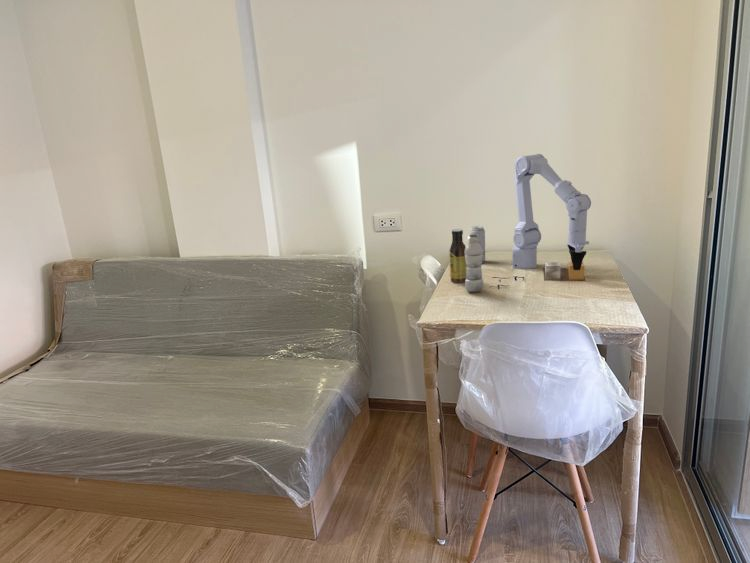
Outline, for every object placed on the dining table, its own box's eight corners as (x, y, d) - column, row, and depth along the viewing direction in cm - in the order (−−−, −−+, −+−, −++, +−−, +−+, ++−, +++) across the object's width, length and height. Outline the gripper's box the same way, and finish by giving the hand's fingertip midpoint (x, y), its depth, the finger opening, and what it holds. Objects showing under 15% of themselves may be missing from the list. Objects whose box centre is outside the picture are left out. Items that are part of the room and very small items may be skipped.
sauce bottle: (450, 278, 208) (449, 227, 202) (467, 278, 207) (465, 227, 201) (449, 283, 202) (447, 231, 196) (466, 283, 201) (465, 231, 195)
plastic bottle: (463, 293, 190) (461, 238, 184) (467, 287, 196) (465, 233, 190) (481, 294, 187) (480, 238, 182) (485, 288, 193) (484, 234, 188)
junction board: (544, 283, 194) (544, 267, 192) (543, 270, 209) (543, 255, 207) (585, 283, 190) (586, 267, 189) (581, 270, 205) (582, 255, 203)
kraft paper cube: (568, 279, 193) (569, 266, 191) (568, 275, 198) (568, 262, 196) (583, 279, 192) (584, 266, 190) (582, 275, 196) (583, 262, 195)
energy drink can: (487, 262, 225) (486, 227, 221) (472, 264, 225) (472, 229, 220) (483, 259, 231) (482, 224, 226) (469, 260, 231) (468, 226, 226)
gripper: (591, 234, 182) (589, 272, 186) (587, 225, 195) (585, 261, 199) (569, 234, 184) (568, 272, 188) (566, 225, 197) (565, 261, 201)
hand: (575, 266), depth 193 cm, fingers open, 7 cm apart
